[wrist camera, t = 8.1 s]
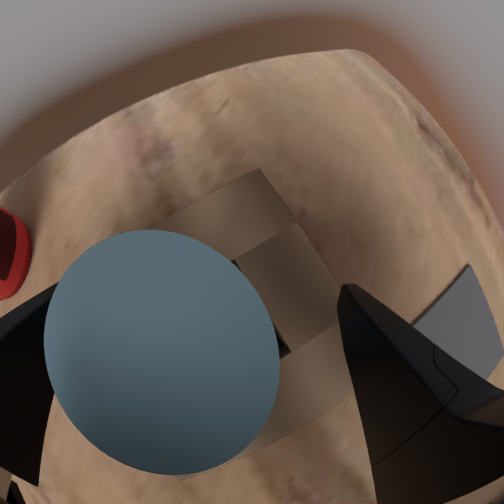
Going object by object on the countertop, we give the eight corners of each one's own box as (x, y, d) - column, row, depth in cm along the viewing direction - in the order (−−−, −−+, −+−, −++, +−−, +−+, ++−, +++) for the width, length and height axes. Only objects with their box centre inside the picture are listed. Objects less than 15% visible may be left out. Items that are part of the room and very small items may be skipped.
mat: (418, 449, 14) (420, 451, 13) (370, 360, 16) (373, 361, 15) (501, 353, 15) (504, 353, 15) (467, 265, 17) (470, 264, 17)
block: (190, 455, 14) (179, 481, 10) (95, 290, 16) (67, 282, 13) (361, 359, 16) (386, 366, 12) (257, 195, 18) (259, 168, 15)
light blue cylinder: (235, 374, 15) (204, 508, 3) (178, 342, 16) (23, 378, 3) (266, 318, 16) (328, 308, 4) (209, 287, 17) (110, 192, 4)
